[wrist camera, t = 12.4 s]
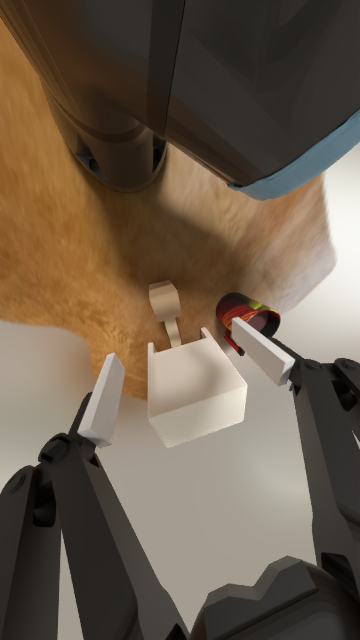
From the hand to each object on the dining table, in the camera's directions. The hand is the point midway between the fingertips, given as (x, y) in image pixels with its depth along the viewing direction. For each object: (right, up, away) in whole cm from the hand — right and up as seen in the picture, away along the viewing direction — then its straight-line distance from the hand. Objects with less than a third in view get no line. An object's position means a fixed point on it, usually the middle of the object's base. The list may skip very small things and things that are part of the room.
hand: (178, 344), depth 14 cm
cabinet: (+1, -8, +28) cm, 30 cm away
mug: (+16, +5, +26) cm, 31 cm away
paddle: (-2, +1, +23) cm, 23 cm away
